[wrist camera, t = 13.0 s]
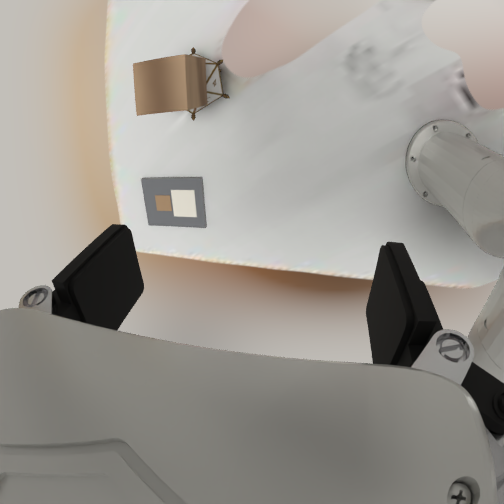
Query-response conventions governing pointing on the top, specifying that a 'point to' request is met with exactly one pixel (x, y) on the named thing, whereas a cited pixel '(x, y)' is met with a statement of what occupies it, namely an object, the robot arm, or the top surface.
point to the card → (175, 201)
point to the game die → (210, 82)
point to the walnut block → (170, 84)
